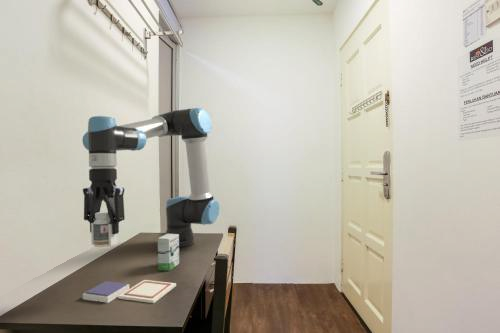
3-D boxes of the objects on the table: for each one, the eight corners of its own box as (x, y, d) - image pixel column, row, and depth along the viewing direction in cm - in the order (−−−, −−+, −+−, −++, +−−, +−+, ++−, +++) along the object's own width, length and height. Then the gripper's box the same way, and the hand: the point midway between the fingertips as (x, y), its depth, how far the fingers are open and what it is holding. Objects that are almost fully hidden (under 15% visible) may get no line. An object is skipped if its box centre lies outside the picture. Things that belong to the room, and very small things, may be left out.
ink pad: (106, 286, 94) (105, 280, 94) (129, 289, 91) (129, 283, 91) (82, 299, 85) (82, 292, 85) (107, 302, 82) (107, 295, 82)
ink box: (169, 271, 106) (168, 239, 106) (157, 270, 107) (156, 238, 107) (180, 263, 115) (179, 233, 115) (168, 262, 116) (167, 232, 116)
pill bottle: (116, 245, 88) (116, 212, 88) (95, 248, 84) (94, 214, 84) (112, 241, 92) (112, 210, 92) (92, 244, 89) (91, 212, 89)
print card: (144, 282, 97) (144, 279, 97) (176, 285, 93) (176, 282, 93) (118, 298, 85) (118, 295, 85) (153, 303, 82) (153, 299, 82)
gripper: (68, 168, 87) (69, 245, 87) (119, 167, 82) (121, 249, 82) (88, 168, 94) (90, 239, 94) (137, 167, 89) (138, 242, 89)
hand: (104, 243), depth 88 cm, fingers closed on pill bottle, 6 cm apart
